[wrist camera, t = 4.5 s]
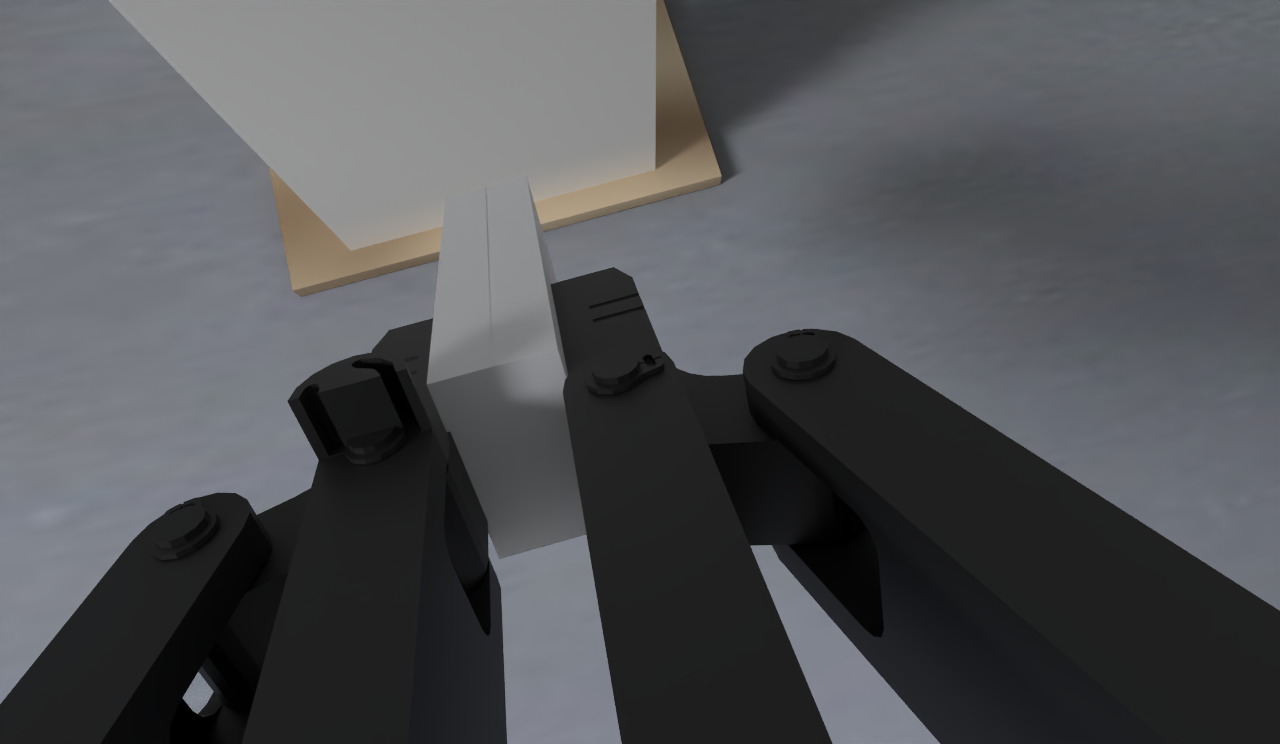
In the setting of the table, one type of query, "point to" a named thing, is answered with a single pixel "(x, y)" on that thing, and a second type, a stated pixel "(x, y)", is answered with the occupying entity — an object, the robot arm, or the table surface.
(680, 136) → the mat
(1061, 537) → the robot arm
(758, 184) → the table surface
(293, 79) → the tile
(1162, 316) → the table surface
